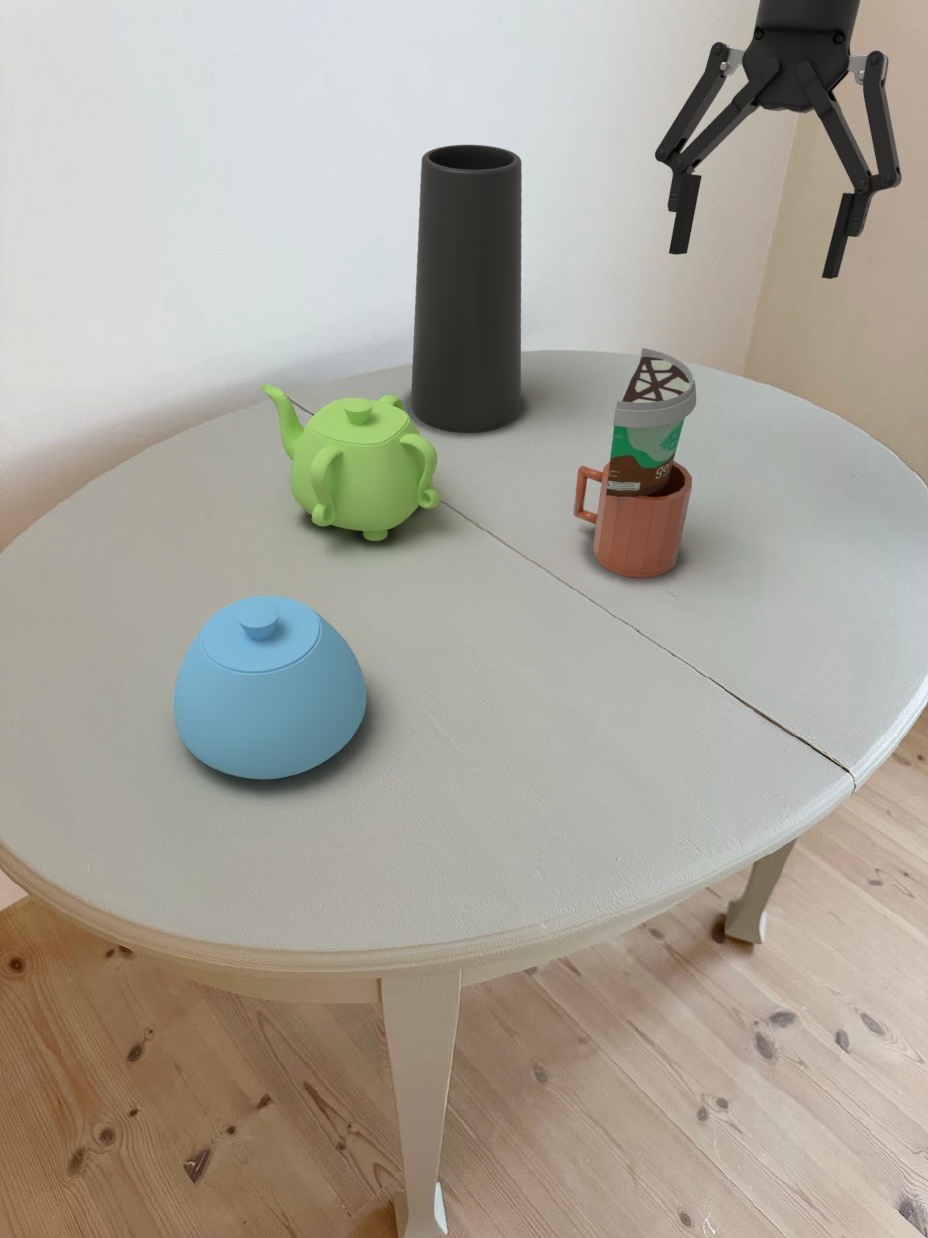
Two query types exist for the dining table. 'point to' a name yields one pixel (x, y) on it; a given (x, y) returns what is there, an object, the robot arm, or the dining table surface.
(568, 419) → the dining table surface
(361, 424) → the teapot
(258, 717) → the sugar bowl
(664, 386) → the food container
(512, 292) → the vase
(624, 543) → the mug
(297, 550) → the dining table surface
